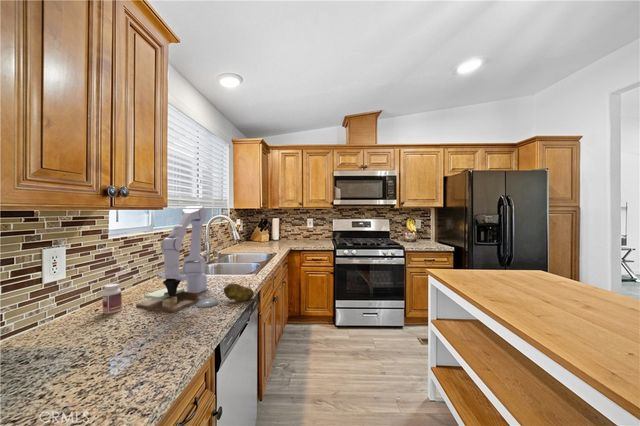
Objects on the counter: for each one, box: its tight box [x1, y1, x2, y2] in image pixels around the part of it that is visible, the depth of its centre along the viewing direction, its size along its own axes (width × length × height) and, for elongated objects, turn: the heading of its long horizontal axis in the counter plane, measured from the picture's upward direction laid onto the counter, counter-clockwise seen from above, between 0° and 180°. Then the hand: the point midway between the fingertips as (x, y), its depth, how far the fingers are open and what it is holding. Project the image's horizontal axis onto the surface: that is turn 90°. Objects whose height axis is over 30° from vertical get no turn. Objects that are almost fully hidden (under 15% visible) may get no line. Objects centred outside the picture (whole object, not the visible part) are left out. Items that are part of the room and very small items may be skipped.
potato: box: [223, 282, 255, 302], centre depth 121 cm, size 8×13×8 cm, turn 93°
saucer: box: [195, 298, 219, 309], centre depth 117 cm, size 9×9×1 cm
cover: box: [143, 287, 185, 300], centre depth 117 cm, size 12×9×2 cm
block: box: [162, 296, 177, 307], centre depth 113 cm, size 4×4×4 cm
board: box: [135, 290, 200, 314], centre depth 117 cm, size 14×21×4 cm, turn 71°
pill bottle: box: [102, 283, 123, 315], centre depth 109 cm, size 6×6×11 cm
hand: (172, 295), depth 114 cm, fingers closed
